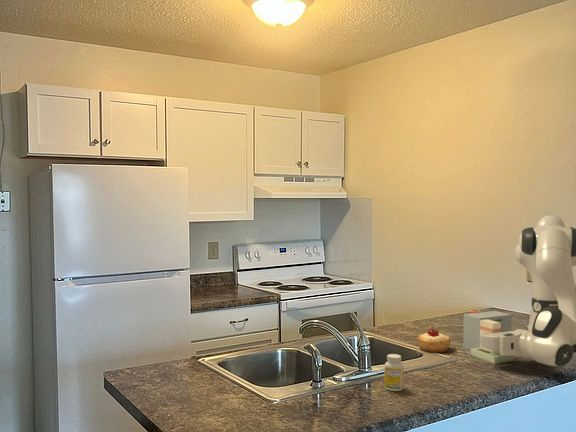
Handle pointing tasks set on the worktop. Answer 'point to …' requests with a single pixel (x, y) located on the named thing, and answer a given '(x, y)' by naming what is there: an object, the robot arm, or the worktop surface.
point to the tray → (490, 356)
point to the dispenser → (473, 326)
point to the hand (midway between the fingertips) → (490, 334)
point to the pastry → (434, 341)
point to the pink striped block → (489, 329)
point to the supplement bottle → (394, 373)
